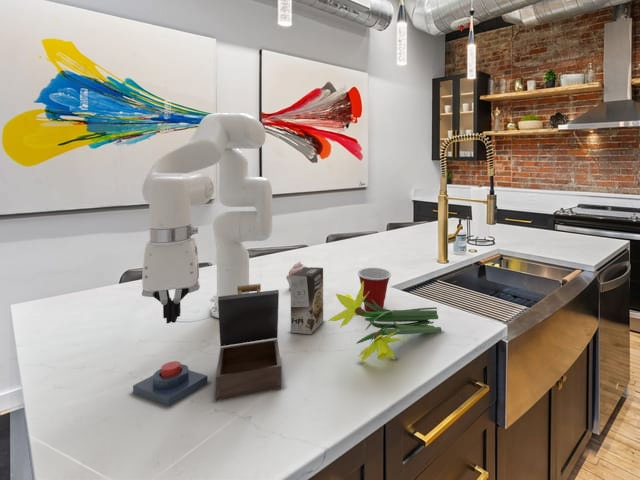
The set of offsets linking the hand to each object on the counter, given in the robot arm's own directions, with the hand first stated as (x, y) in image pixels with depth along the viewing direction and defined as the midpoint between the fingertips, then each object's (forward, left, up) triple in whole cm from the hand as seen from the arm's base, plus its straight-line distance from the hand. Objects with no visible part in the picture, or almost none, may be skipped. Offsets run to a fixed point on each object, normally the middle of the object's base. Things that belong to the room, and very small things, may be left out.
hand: (172, 320), depth 86 cm
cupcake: (-17, +62, -14) cm, 66 cm away
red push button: (0, -1, -11) cm, 11 cm away
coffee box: (+7, +36, -14) cm, 40 cm away
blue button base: (0, -1, -14) cm, 14 cm away
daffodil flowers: (+35, +36, -14) cm, 52 cm away
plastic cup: (+18, +56, -14) cm, 61 cm away
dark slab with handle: (+10, +12, -3) cm, 16 cm away
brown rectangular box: (+12, +9, -14) cm, 21 cm away
